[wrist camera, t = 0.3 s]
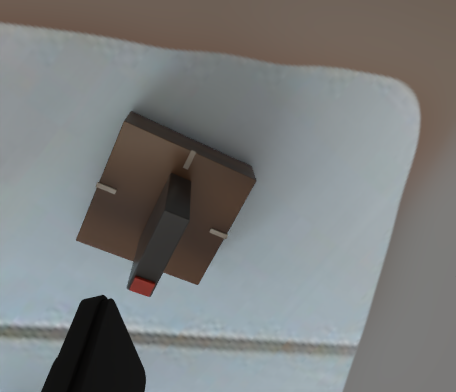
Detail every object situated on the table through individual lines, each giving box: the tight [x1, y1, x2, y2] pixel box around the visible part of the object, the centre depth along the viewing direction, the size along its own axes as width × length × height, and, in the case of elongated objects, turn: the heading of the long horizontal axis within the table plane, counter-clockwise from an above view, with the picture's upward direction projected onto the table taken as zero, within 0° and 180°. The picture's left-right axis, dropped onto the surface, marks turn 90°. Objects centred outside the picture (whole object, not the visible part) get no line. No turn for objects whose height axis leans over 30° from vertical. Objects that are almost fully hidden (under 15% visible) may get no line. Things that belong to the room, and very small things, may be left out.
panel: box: [76, 111, 256, 285], centre depth 31 cm, size 10×10×3 cm
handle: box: [127, 173, 191, 297], centre depth 27 cm, size 6×2×6 cm, turn 153°
